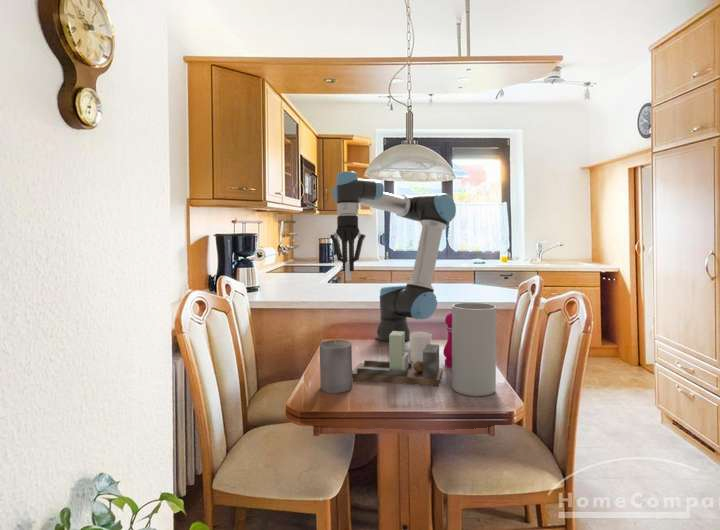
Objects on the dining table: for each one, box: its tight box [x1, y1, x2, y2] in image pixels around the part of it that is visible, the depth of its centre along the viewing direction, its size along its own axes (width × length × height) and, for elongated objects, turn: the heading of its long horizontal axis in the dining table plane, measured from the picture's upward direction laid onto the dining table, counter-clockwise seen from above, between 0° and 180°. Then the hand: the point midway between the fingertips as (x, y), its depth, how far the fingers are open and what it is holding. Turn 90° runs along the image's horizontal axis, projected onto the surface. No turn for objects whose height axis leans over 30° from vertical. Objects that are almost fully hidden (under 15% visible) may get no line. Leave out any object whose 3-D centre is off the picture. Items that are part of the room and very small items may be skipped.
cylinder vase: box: [451, 302, 497, 397], centre depth 134 cm, size 12×12×25 cm
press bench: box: [352, 343, 444, 387], centre depth 148 cm, size 28×12×10 cm, turn 75°
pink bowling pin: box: [443, 309, 452, 368], centre depth 160 cm, size 7×7×20 cm
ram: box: [388, 331, 409, 371], centre depth 147 cm, size 5×7×12 cm
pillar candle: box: [319, 338, 353, 394], centre depth 138 cm, size 10×10×15 cm
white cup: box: [409, 331, 433, 364], centre depth 165 cm, size 8×8×10 cm
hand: (348, 280), depth 167 cm, fingers closed
